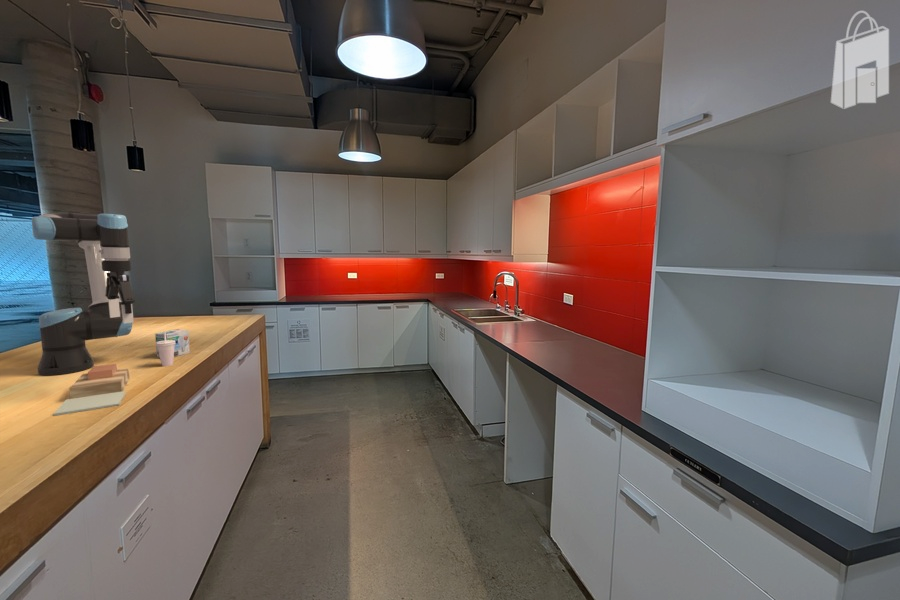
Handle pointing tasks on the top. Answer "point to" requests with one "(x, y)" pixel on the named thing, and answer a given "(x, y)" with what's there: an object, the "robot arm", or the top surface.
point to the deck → (99, 384)
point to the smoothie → (166, 351)
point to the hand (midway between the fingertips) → (121, 319)
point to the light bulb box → (176, 341)
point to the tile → (102, 371)
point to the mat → (90, 403)
